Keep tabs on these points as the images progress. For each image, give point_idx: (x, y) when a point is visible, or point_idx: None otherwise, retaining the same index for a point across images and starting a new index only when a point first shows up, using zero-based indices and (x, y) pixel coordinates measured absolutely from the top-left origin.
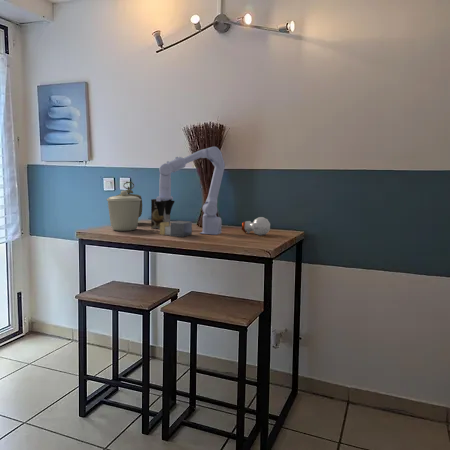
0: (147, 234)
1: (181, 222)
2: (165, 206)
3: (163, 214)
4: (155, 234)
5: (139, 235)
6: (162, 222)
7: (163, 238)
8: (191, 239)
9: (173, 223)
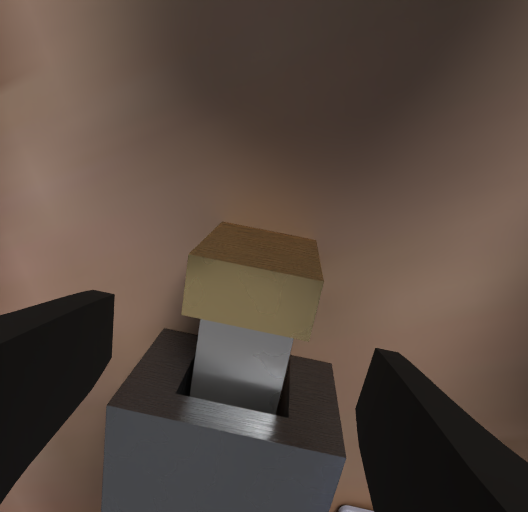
0: (198, 93)
1: (196, 496)
2: (457, 480)
3: (96, 377)
4: (222, 175)
5: (106, 31)
6: (237, 274)
7: (37, 302)
8: (78, 476)
9: (107, 431)
